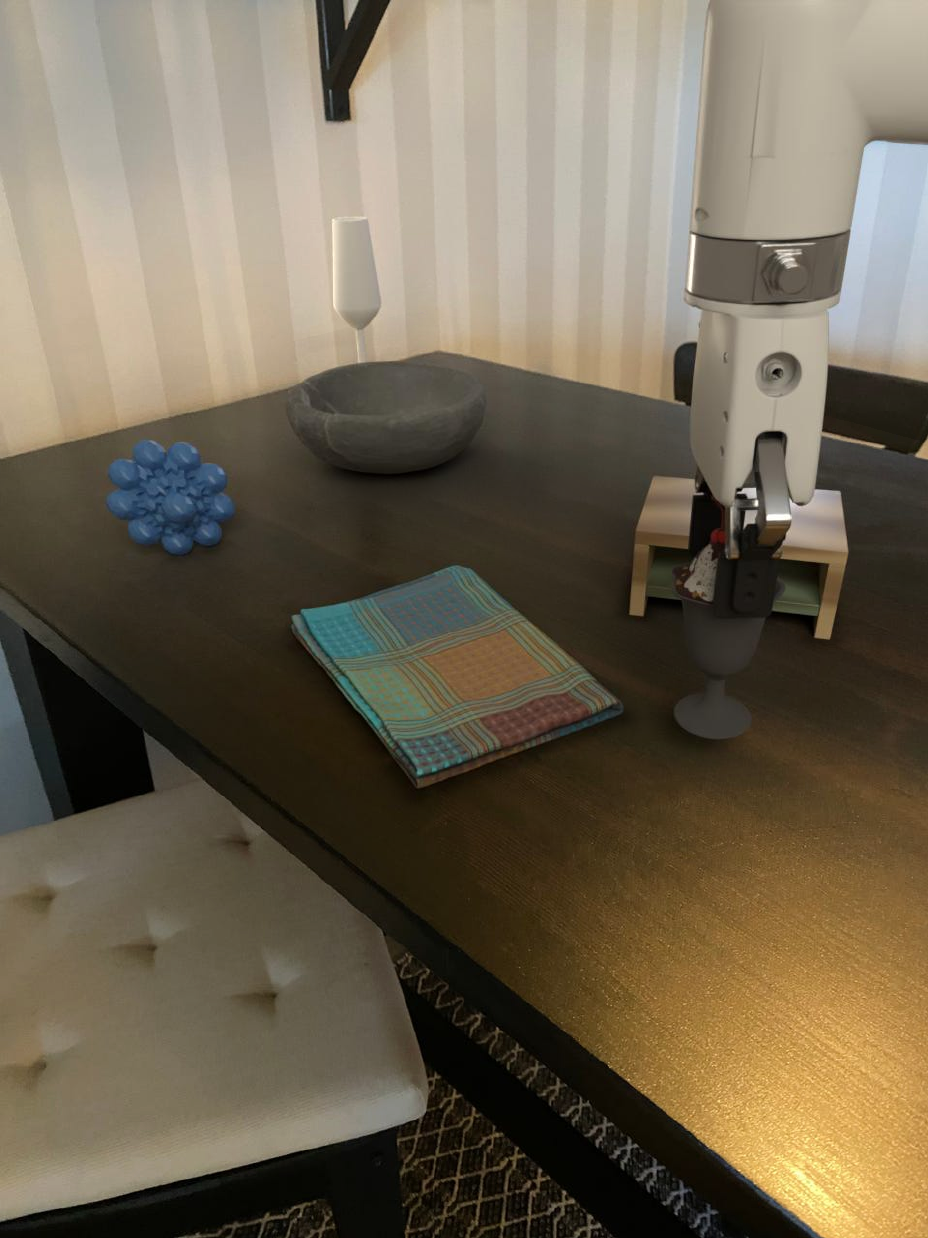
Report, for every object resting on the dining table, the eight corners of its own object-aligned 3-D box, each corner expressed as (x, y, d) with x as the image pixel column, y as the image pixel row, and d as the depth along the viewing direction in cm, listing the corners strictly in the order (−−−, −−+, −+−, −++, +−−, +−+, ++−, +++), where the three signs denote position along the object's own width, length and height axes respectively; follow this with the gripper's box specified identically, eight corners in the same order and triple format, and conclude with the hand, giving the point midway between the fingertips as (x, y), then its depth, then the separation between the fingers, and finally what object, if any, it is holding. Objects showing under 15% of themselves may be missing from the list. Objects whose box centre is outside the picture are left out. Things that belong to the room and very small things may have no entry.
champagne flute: (369, 405, 128) (353, 223, 116) (332, 398, 131) (314, 220, 119) (397, 393, 133) (385, 216, 121) (361, 386, 136) (346, 214, 124)
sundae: (683, 676, 63) (702, 476, 55) (779, 706, 60) (812, 497, 52) (642, 726, 59) (655, 515, 51) (742, 761, 55) (773, 541, 47)
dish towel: (469, 582, 82) (468, 557, 81) (628, 715, 64) (631, 686, 63) (290, 634, 75) (286, 608, 74) (412, 799, 57) (410, 769, 56)
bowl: (449, 513, 95) (445, 421, 90) (262, 492, 102) (248, 405, 97) (510, 440, 114) (510, 361, 109) (348, 426, 121) (341, 351, 115)
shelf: (829, 641, 72) (848, 551, 68) (629, 616, 76) (635, 530, 72) (824, 572, 82) (840, 490, 78) (646, 554, 86) (653, 475, 82)
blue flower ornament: (131, 587, 83) (101, 464, 77) (117, 558, 88) (88, 441, 82) (253, 557, 88) (234, 439, 82) (233, 531, 93) (214, 418, 87)
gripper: (908, 304, 37) (836, 663, 46) (792, 237, 52) (755, 519, 61) (724, 312, 38) (689, 666, 47) (660, 243, 52) (643, 522, 62)
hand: (726, 580), depth 54 cm, fingers closed on sundae, 6 cm apart
